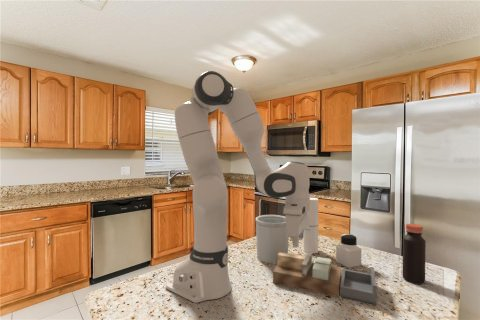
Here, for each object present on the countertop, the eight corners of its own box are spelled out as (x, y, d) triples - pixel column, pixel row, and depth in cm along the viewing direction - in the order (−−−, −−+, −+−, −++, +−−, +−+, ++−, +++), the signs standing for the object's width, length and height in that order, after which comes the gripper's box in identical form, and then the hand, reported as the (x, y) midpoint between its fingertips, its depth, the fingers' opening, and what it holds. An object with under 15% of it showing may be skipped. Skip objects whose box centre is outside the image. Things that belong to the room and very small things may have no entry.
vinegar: (420, 276, 93) (420, 223, 93) (428, 285, 87) (429, 228, 86) (399, 274, 95) (400, 222, 95) (406, 283, 88) (407, 227, 88)
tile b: (315, 270, 90) (315, 261, 90) (317, 264, 94) (317, 256, 94) (329, 272, 87) (329, 264, 87) (331, 267, 92) (331, 259, 92)
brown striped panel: (272, 282, 89) (272, 271, 89) (283, 266, 101) (283, 257, 101) (339, 297, 79) (339, 284, 79) (341, 278, 92) (341, 267, 92)
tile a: (312, 277, 84) (312, 268, 84) (314, 271, 89) (314, 262, 89) (328, 280, 82) (328, 271, 82) (329, 274, 87) (329, 265, 87)
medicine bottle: (361, 265, 103) (362, 236, 102) (348, 268, 100) (348, 238, 100) (348, 259, 109) (348, 231, 109) (335, 261, 107) (335, 233, 106)
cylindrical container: (318, 253, 115) (319, 200, 115) (303, 252, 116) (303, 199, 116) (317, 248, 122) (317, 197, 122) (302, 247, 123) (302, 197, 123)
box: (340, 297, 79) (340, 278, 79) (342, 278, 92) (342, 262, 92) (376, 305, 75) (376, 286, 75) (373, 284, 87) (373, 267, 87)
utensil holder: (281, 267, 100) (281, 224, 100) (249, 259, 108) (249, 219, 108) (293, 255, 113) (294, 217, 113) (264, 249, 121) (264, 213, 121)
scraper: (273, 270, 89) (273, 259, 89) (282, 257, 100) (282, 248, 100) (306, 276, 85) (306, 265, 85) (311, 263, 95) (311, 252, 95)
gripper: (295, 199, 102) (296, 233, 103) (282, 210, 84) (282, 250, 84) (311, 200, 100) (311, 234, 100) (300, 211, 81) (301, 253, 81)
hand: (298, 242), depth 92 cm, fingers open, 8 cm apart
